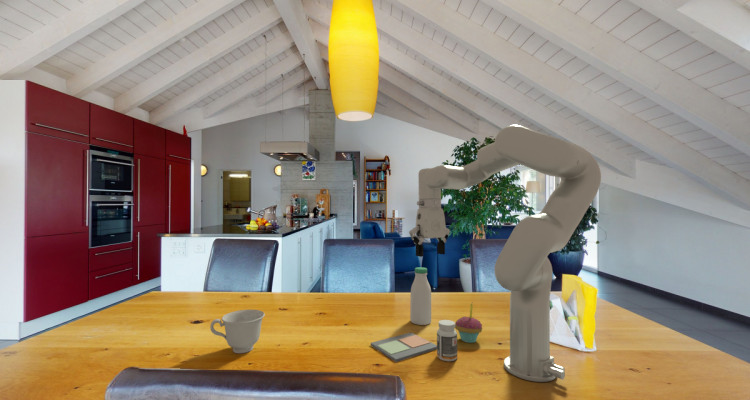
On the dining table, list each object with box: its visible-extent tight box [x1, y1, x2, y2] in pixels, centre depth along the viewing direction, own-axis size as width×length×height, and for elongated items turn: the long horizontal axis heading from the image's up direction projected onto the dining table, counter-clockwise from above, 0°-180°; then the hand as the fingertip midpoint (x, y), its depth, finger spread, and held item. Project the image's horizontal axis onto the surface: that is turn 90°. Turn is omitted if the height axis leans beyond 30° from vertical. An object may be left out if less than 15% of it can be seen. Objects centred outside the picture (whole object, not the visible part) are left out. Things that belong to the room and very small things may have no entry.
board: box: [370, 332, 437, 363], centre depth 100 cm, size 13×16×1 cm
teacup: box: [210, 309, 265, 354], centre depth 98 cm, size 12×15×10 cm
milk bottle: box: [409, 266, 432, 326], centre depth 123 cm, size 8×8×20 cm
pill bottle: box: [436, 319, 458, 362], centre depth 94 cm, size 6×6×10 cm
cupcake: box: [455, 303, 483, 344], centre depth 106 cm, size 9×8×12 cm
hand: (430, 255), depth 112 cm, fingers open, 9 cm apart
